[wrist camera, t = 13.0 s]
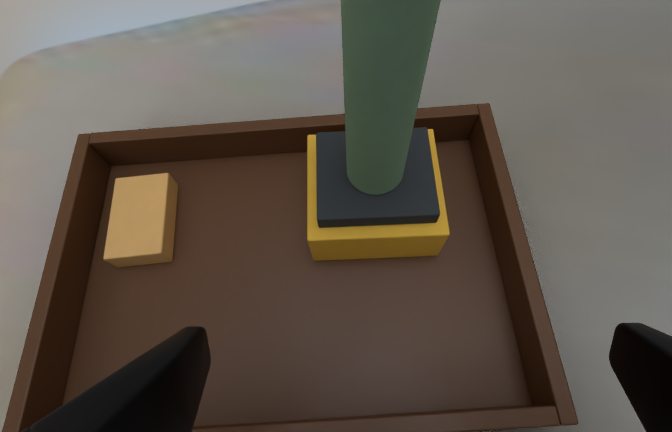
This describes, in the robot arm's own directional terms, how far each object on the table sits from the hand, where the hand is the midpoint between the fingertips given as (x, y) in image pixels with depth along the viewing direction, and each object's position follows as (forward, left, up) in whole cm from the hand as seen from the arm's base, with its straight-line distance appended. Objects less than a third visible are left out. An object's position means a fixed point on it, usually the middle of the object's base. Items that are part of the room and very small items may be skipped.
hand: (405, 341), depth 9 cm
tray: (+1, +6, -8) cm, 10 cm away
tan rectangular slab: (-2, +12, -8) cm, 14 cm away
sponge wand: (+5, +5, -8) cm, 10 cm away
